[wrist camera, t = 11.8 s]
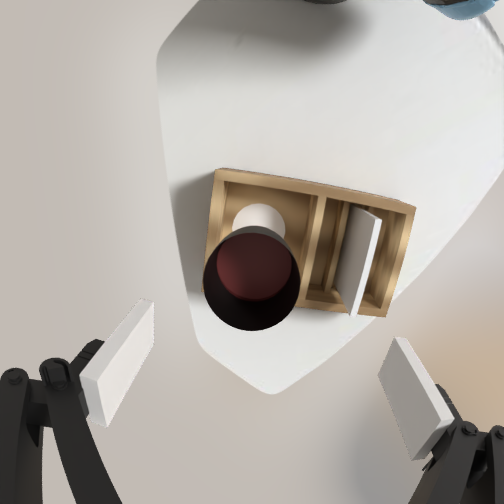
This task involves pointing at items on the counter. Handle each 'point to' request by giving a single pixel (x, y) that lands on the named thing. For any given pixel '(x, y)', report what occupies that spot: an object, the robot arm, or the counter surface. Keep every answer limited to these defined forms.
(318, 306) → the wooden divided tray
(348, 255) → the white flat panel
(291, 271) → the wineglass
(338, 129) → the counter surface
